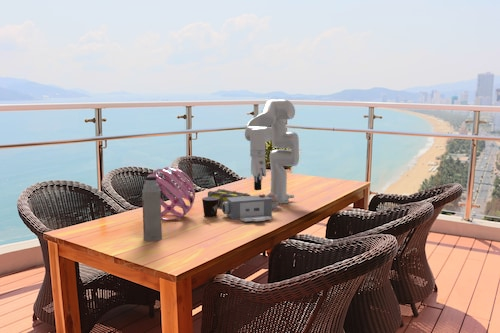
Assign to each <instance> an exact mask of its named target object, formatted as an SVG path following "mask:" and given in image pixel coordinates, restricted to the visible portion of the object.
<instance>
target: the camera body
mask: <svg viewBox="0 0 500 333" xmlns="http://www.w3.org/2000/svg"><path fill="white" fill-rule="evenodd" d="M266 195H267V194H264V193H260V194H258V195H251V196H244V197H229V198H226V202H223V204H222V208H221V211H222V213H223V215H226V216H227V217H228V218H230V219H231V220H240V219H239V218H243V217H255V216H269V217H272V215H273V214H272V213H273V212H272V211H273V209H272V199H271V198H270V197H268V196H266Z"/></svg>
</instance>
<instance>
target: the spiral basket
mask: <svg viewBox="0 0 500 333" xmlns="http://www.w3.org/2000/svg"><path fill="white" fill-rule="evenodd" d="M168 170H170V171H172V172H169V171H168ZM158 172H159V173H162V176H163V177H164V178H163V177H161V176H159V175H158ZM146 177H157V179H156V180H157V184H159V189H160V191H161V193H162V194H163V195H164V196H165V197H166V198H167V199H168V200H169V201H170V202H171V203H170V204H168V203H166V202H165V201H164V200H163V199H162V198H161V207H162V208H164V210H163V211H161V221H166V222H171V221H177V220H179V219H181V218H183V217H185V216H186V215H187V214H188V213H189V212H190V210H191V209H192V207H193V206H194V202H195V199H196V191H195V185H194V182H193V181H192V179H191V178H190V176H189V175H188V174H186V172H184V171H183V170H181V169H179V168H173V167H171V166H170V167H169V166H168V167H167V166H166V167H164V168H158V169H155V170H153V172H152V173H151V174H150V173H149V174H148V175H147V176H146ZM145 181H146V179H145ZM175 183H176V184H177V185H178V186H176V184H175ZM190 192H192V194H191V193H190ZM184 200H187V201H188V202H189V205H188V204H186V202H185V201H184ZM175 207H178V208H181V209H182V213H181V212H179V211H177V210H175ZM169 213H170V214H172V215H174V216H176V217H174V218H162V217H163V216H165V215H167V214H169Z"/></svg>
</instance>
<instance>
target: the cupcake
mask: <svg viewBox="0 0 500 333" xmlns="http://www.w3.org/2000/svg"><path fill="white" fill-rule="evenodd" d="M265 195H266V196H268V197H270V198H271V199H272V210H275V209H276V210H277V208H278V205H279V204H278V203H279V200H277V196H276V195H274V194H273V193H272V192H271V191H270V193H268V194H265Z"/></svg>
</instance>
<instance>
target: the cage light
mask: <svg viewBox="0 0 500 333" xmlns="http://www.w3.org/2000/svg"><path fill="white" fill-rule="evenodd" d="M244 196H252V195H250V194H249V193H247V192H244V193H243V192H238V191H236V190H227V189H223V188H222V189H221V188H218V189H216V190H213V191H212V190H208V192H207V197H217V198H219V199H220V201H221V203H220V205H219V202H220V201H219V200H218V205H219V207H218V209H219V208H220V209H222V204H223V202H226V198H229V197H244Z"/></svg>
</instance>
